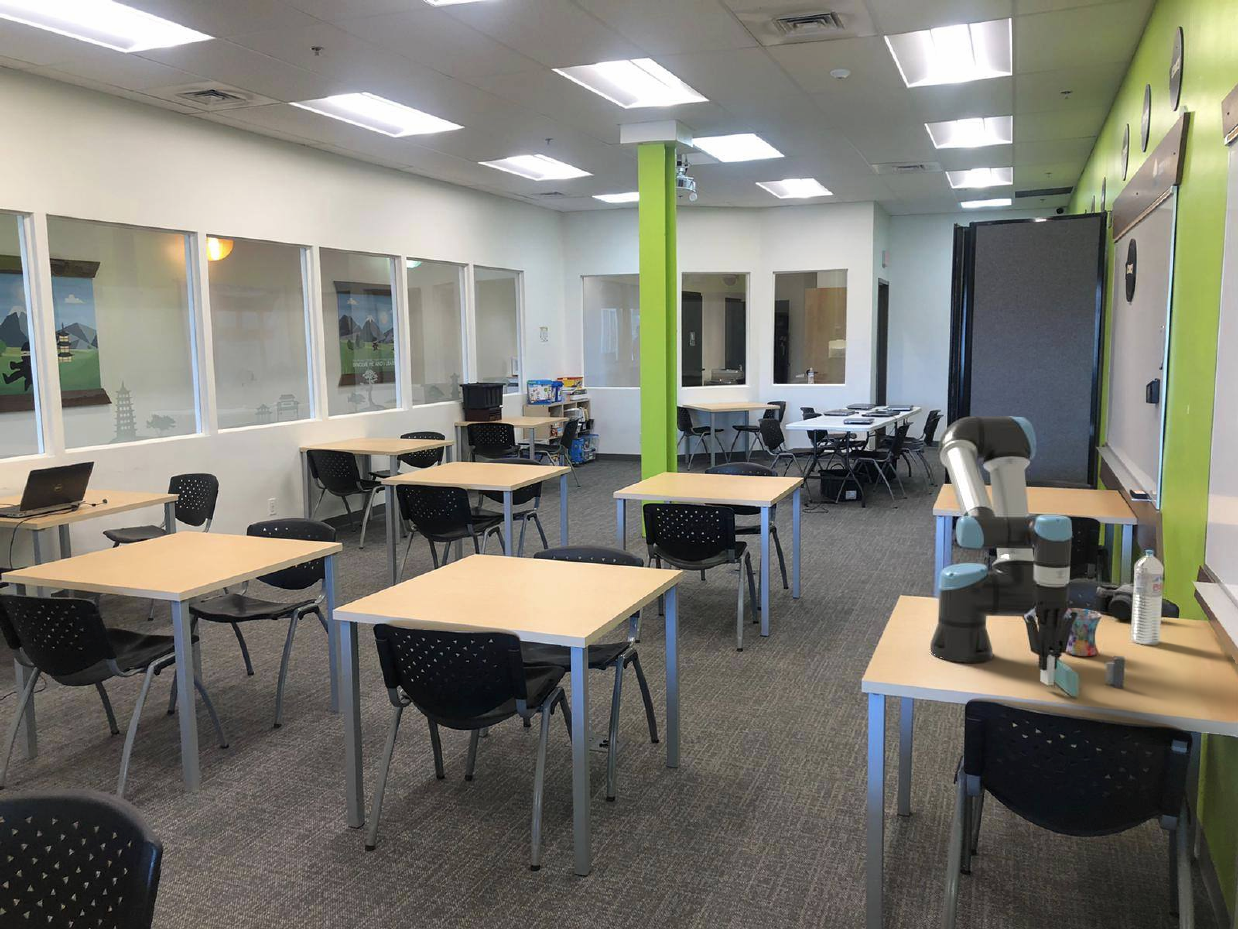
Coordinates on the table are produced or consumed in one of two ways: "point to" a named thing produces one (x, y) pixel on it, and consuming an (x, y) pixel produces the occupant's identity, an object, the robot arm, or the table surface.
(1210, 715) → the table surface
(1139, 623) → the water bottle
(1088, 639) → the mug
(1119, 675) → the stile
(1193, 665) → the table surface
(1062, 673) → the teal rectangular bar
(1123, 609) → the camera
